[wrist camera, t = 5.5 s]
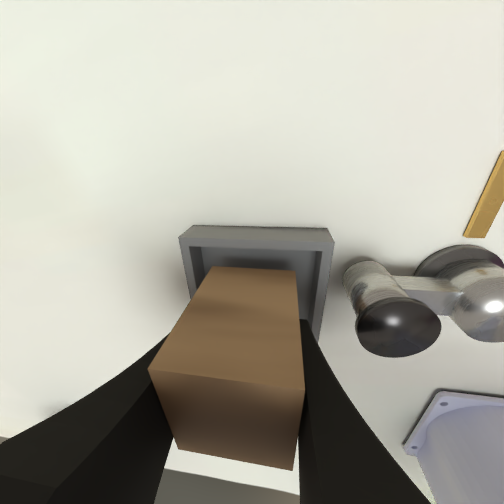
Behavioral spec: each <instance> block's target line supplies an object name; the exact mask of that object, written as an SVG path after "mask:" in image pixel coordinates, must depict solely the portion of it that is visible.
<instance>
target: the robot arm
mask: <svg viewBox="0 0 504 504" xmlns="http://www.w3.org/2000/svg"><path fill="white" fill-rule="evenodd" d="M299 322H300V334H301V346H302V358H303V370H304V382H305V394H304V401H303V407H302V413H301V420H300V426H299V433H298V447H299V482H300V504H431V503H430V502H429V500H428V499H427V498H426V497H425V496H424V495H423V493H422V492H421V491H420V490H419V489H418V488H417V486H416V485H415V484H414V483H413V482H412V480H411V479H410V478H409V477H408V476H407V474H406V473H405V472H404V471H403V469H402V468H401V467H400V466H399V465H398V463H397V462H396V461H395V460H394V458H393V457H392V456H391V455H390V453H389V452H388V451H387V449H386V448H385V447H384V446H383V444H382V443H381V442H380V440H379V439H378V438H377V436H376V435H375V434H374V433H373V431H372V430H371V429H370V427H369V426H368V425H367V423H366V422H365V420H364V419H363V418H362V416H361V415H360V413H359V412H358V411H357V409H356V408H355V406H354V405H353V403H352V402H351V400H350V399H349V397H348V396H347V394H346V393H345V391H344V390H343V388H342V387H341V385H340V383H339V382H338V380H337V378H336V377H335V375H334V373H333V372H332V370H331V368H330V366H329V365H328V363H327V361H326V359H325V357H324V355H323V353H322V351H321V349H320V347H319V345H318V343H317V341H316V339H315V337H314V335H313V332H312V330H311V327H310V324H309V321H308V320H307V319H299ZM169 334H170V333H169ZM169 334H168V335H167V336H166V337H165V338H164V339H162V340H161V341H160V342H159V343H158V344H157V345H156V346H154V347H153V348H152V349H151V350H150V351H148V352H147V353H146V354H145V355H144V356H142V357H141V358H140V359H139V360H137V361H136V362H135V363H133V364H132V365H131V366H129V367H128V368H127V369H125V370H124V371H123V372H121V373H120V374H119V375H117V376H116V377H114V378H113V379H111V380H110V381H108V382H107V383H105V384H104V385H102V386H101V387H99V388H98V389H96V390H95V391H93V392H91V393H90V394H88V395H87V396H85V397H84V398H82V399H80V400H79V401H77V402H75V403H74V404H72V405H70V406H69V407H67V408H65V409H63V410H62V411H60V412H58V413H56V414H55V415H53V416H51V417H49V418H48V419H46V420H44V421H42V422H40V423H38V424H36V425H35V426H33V427H31V428H29V429H27V430H25V431H23V432H21V433H19V434H18V435H16V436H14V437H12V438H10V439H8V440H6V441H4V442H2V444H0V504H154V500H155V497H156V494H157V490H158V487H159V483H160V480H161V476H162V473H163V469H164V466H165V463H166V460H167V456H168V453H169V450H170V447H171V443H172V440H173V434H172V431H171V429H170V426H169V424H168V421H167V418H166V416H165V413H164V410H163V408H162V405H161V403H160V400H159V397H158V395H157V392H156V390H155V387H154V384H153V382H152V379H151V377H150V374H149V371H148V367H149V366H150V364H151V362H152V361H153V359H154V358H155V356H156V355H157V353H158V351H159V350H160V348H161V347H162V345H163V343H164V342H165V340H166V339H167V337H168V336H169ZM403 449H404V451H405V453H406V454H408V455H414V456H417V459H418V461H419V463H420V466H421V468H422V470H423V473H424V475H425V477H426V480H427V482H428V484H429V487H430V489H431V491H432V494H433V496H434V498H435V501H436V503H437V504H504V398H497V397H488V396H480V395H472V394H464V393H455V392H447V391H441V392H438V393H437V394H436V395H435V397H434V399H433V400H432V402H431V403H430V405H429V407H428V408H427V410H426V411H425V413H424V415H423V416H422V418H421V419H420V421H419V423H418V424H417V426H416V427H415V429H414V431H413V432H412V434H411V435H410V437H409V438H408V440H407V442H406V443H405V445H404V446H403Z"/></svg>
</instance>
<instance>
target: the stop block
mask: <svg viewBox="0 0 504 504" xmlns="http://www.w3.org/2000/svg"><path fill="white" fill-rule="evenodd" d="M148 371H149V374H150V377H151V379H152V382H153V384H154V387H155V390H156V392H157V395H158V397H159V400H160V403H161V405H162V408H163V410H164V413H165V416H166V418H167V421H168V424H169V426H170V429H171V431H172V434H173V437H174V439H175V442H176V444H177V447H178V449H180V450H185V451H191V452H196V453H201V454H206V455H212V456H217V457H222V458H227V459H233V460H238V461H243V462H248V463H254V464H259V465H264V466H269V467H275V468H280V469H285V470H290V471H293V464H294V458H295V452H296V445H297V439H298V433H299V426H300V420H301V413H302V407H303V401H304V394H305V382H304V370H303V358H302V346H301V334H300V322H299V310H298V298H297V286H296V274H295V271H290V270H273V269H255V268H238V267H220V266H212V267H211V269H210V271H209V272H208V274H207V275H206V277H205V278H204V280H203V282H202V283H201V285H200V286H199V288H198V290H197V291H196V293H195V294H194V296H193V298H192V299H191V301H190V302H189V304H188V305H187V307H186V309H185V310H184V312H183V313H182V315H181V317H180V318H179V320H178V321H177V323H176V324H175V326H174V328H173V329H172V331H171V332H170V334H169V336H168V337H167V339H166V340H165V342H164V343H163V345H162V347H161V348H160V350H159V351H158V353H157V355H156V356H155V358H154V359H153V361H152V362H151V364H150V366H149V367H148Z"/></svg>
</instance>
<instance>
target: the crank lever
mask: <svg viewBox="0 0 504 504" xmlns="http://www.w3.org/2000/svg"><path fill="white" fill-rule="evenodd" d="M343 286H344V288H345V290H346V293H347V295H348V297H349V300H350V302H351V304H352V307H353V309H354V311H355V314H356V316H357V319H356V322H355V331H356V334H357V336H358V339H359V341H360V343H361V345H362V346H363V347H364V348H365V349H366V350H368V351H369V352H371V353H373V354H376V355H379V356H383V357H392V358H397V357H406V356H410V355H414V354H417V353H419V352H421V351H423V350H425V349H427V348H428V347H430V346H431V345H432V344H433V343H434V342H435V341H436V340H437V338H438V337H439V335H440V332H441V322H440V320H439V318H438V316H437V315H445V316H449V317H450V318H451V319H452V320H453V321H454V322H455V323H456V324H457V325H458V326H459V327H460V328H461V329H462V330H463V331H464V332H465V333H466V334H467V335H468V336H469V337H471V338H473V339H476V340H479V341H483V342H504V269H503V268H501V267H499V266H497V265H496V264H494V263H492V262H490V261H487V260H484V259H465V260H460V261H457V262H454V263H452V264H450V265H448V266H446V267H444V268H443V269H442V270H440V271H439V272H438V273H437V274H436V275H435V276H434V277H433V278H430V277H411V276H392V275H391V274H390V273H389V272H388V271H387V270H386V269H385V267H384V266H383V265H381V264H379V263H377V262H374V261H362V262H358V263H356V264H354V265H352V266H351V267H349V268H348V269H347V270H346V272H345V273H344V275H343Z"/></svg>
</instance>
